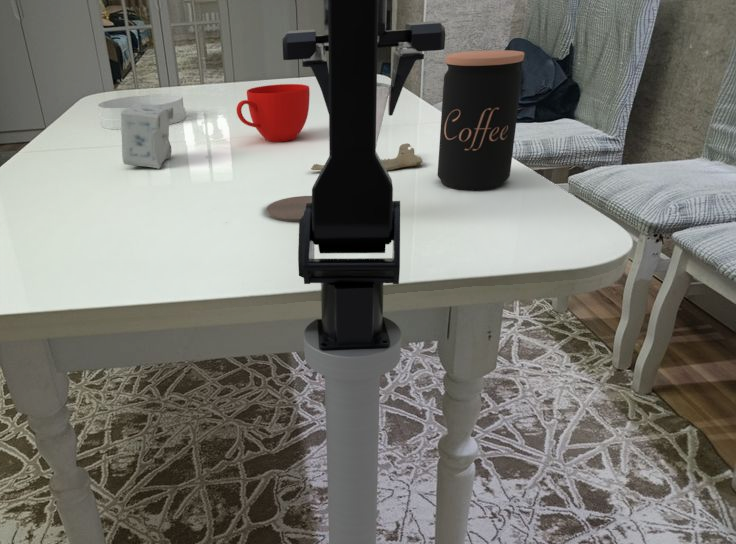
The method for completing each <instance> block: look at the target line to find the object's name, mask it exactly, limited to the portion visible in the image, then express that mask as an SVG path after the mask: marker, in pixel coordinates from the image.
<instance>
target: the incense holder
mask: <svg viewBox="0 0 736 544" xmlns="http://www.w3.org/2000/svg"><path fill="white" fill-rule="evenodd" d="M171 119H172V120H173V107H165V106H157V105H149V104H141V103H139V104H136V105H134V106H132V107H131V108H129V109H126V110H123V111H122V112H121V130H120V131H121V157H122V162H123V164H124V165H128V166H136V167H149V168H153V169H157V170H160V169H161V167H162V166H163V163H164V162H165V161H166V160H169V159H170V158H171V156H172V145H171V142H170V124H169V121H170V120H171Z"/></svg>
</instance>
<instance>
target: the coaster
mask: <svg viewBox="0 0 736 544" xmlns="http://www.w3.org/2000/svg"><path fill="white" fill-rule="evenodd" d="M308 202H312V195H300V196H292V197H291V196H290V197H286V198H281V199H279V200H276V201H273V202H271V203H270V204H269V205H268V206H266V214H267V215H268V217H270V218H272V219H275V220H278V221H283V222H294V223H299V219H300V218H301V217H302V216H303V215H304V211H305V210H306V204H307V203H308Z"/></svg>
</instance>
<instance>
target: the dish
mask: <svg viewBox="0 0 736 544" xmlns="http://www.w3.org/2000/svg"><path fill="white" fill-rule="evenodd" d="M183 98H184V97H183V95H180V94H172V93H171V94H170V93H169V94H168V93H158V94H156V93H155V94H143V95H141V94H139V95H133V96H123V97H118V98H112V99H108V100H105V101H101V102H99V103H98V104H97V108H98V113H99V117H98V118H99V124H100V127H101V128H103V129H107V130H119V131H121V112H122V111H123V110H126V109H129V108H131V107H132V106H134V105H136V104H139V103H141V104H149V105H157V106H165V107H173V120H172V119H171V120H170V121H169V125H173V124H177V123H180V122H182V121H184V120H186V118H187V116H186V115H187V114H186V107H185V105H184V99H183Z"/></svg>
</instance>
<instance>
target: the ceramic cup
mask: <svg viewBox="0 0 736 544" xmlns="http://www.w3.org/2000/svg"><path fill="white" fill-rule="evenodd" d="M310 91H311V90H310V86H309V85H306V84H302V83H301V84H299V83H280V84H269V85H260V86H255V87H251V88H249V89H247V90H246V99H244V100H240V101H239V102H238V103H237V105H236V115H237V117H238V119H239V120H240V122H241V123H243V125H246V126H248V127H252V128H255V129H256V131H257V132H258V133H259V134H260V135H261V136H262V137H263V138H264V140H265V141H266V142H271V143H272V142H273V143H281V142H289V141H293V140H296V139H297V137H298V135H299V134H301V132H302V130H303V129H304V127H305V125H306V123H307V122H306V121H307V119H308V115H309V109H310V97H311V96H310V94H311V93H310ZM244 105H247V106H248V111H249V115H250V119H251V121H252V122H251V121H248V120H247V119H245V117H244V116H243V113H242V110H243V109H242V108H243V106H244Z"/></svg>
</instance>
